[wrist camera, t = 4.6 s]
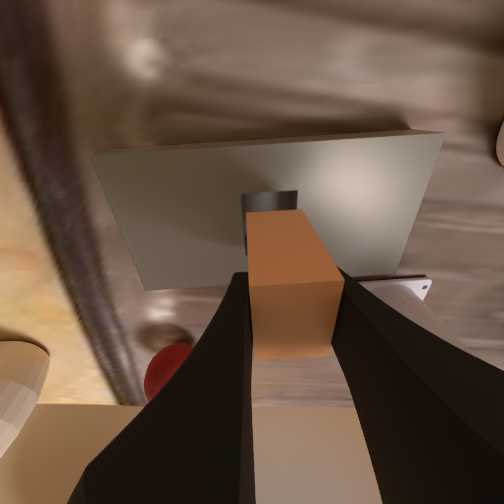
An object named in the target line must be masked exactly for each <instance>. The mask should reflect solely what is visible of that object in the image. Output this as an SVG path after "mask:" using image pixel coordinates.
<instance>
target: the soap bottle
mask: <svg viewBox="0 0 504 504" xmlns="http://www.w3.org/2000/svg"><path fill="white" fill-rule="evenodd" d="M49 362H50V359H49V356H48V355H47V353H46V352H45V351H43V350H42V349H41V348H39V347H38V346H36V345H34V344H32V343H28V342H23V341H2V342H0V458H1V457H2V455H3V454H4V453H5V451H6V450H7V448H8V447H9V446H10V445H11V443H12V442H13V441H14V439H15V438H16V437H17V435H18V434H19V432H20V430H21V429H22V427H23V425H24V424H25V422H26V420H27V418H28V417H29V415H30V413H31V412H32V410H33V408H34V407H35V405H36V403H37V401H38V399H39V396H40V393H41V390H42V388H43V385H44V382H45V379H46V376H47V372H48V367H49Z"/></svg>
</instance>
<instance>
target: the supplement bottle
mask: <svg viewBox="0 0 504 504" xmlns="http://www.w3.org/2000/svg"><path fill="white" fill-rule="evenodd" d="M496 152H497V156H498V159H499V161H500V163H501V164H502V165H503V166H504V122H503V124H502V126H501V129H500V131H499V134H498V138H497V143H496Z"/></svg>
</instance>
